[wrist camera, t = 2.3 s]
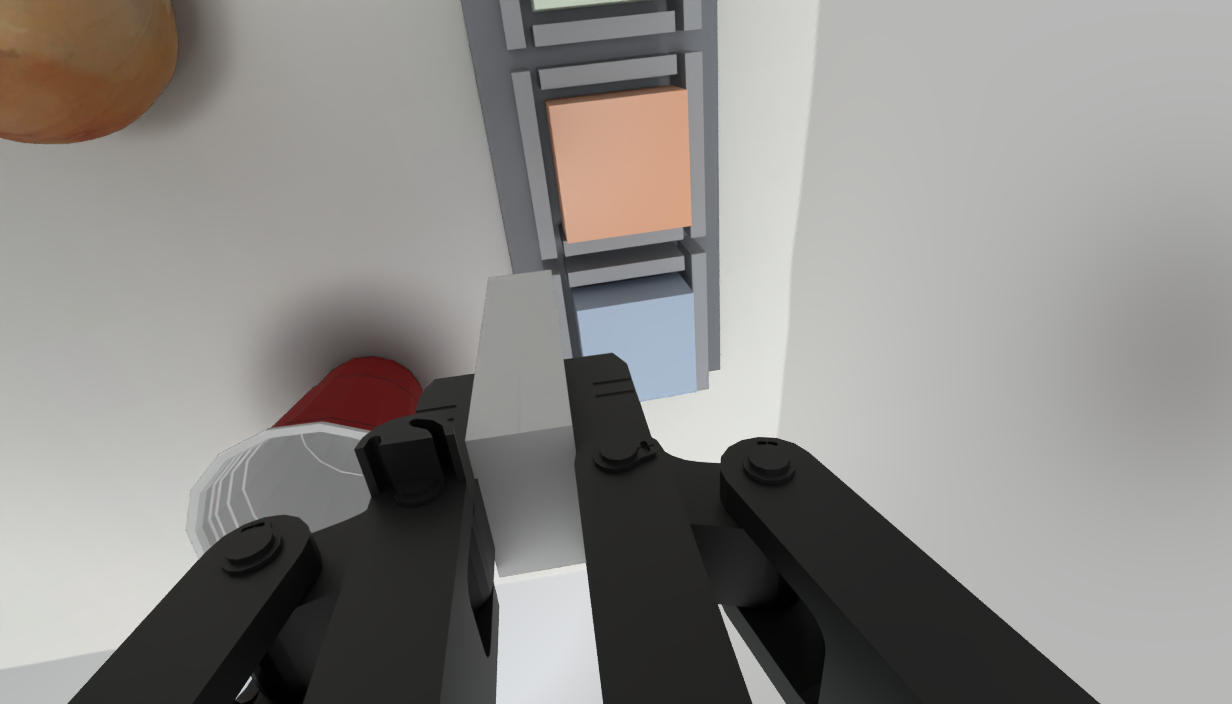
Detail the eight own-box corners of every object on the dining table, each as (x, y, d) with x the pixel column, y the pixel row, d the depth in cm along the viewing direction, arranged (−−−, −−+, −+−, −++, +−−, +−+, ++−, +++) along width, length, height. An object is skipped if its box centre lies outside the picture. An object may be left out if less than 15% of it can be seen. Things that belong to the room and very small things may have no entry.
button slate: (571, 288, 32) (577, 311, 29) (678, 272, 32) (693, 292, 30) (584, 382, 34) (590, 410, 32) (682, 365, 35) (696, 391, 32)
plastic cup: (470, 320, 35) (455, 440, 24) (462, 464, 39) (447, 617, 29) (268, 304, 32) (156, 431, 22) (286, 460, 37) (200, 625, 27)
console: (355, -563, 19) (322, -696, 16) (703, -564, 21) (743, -686, 17) (536, 392, 38) (540, 428, 34) (715, 362, 39) (735, 393, 36)
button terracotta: (544, 99, 27) (548, 106, 24) (670, 84, 28) (687, 89, 25) (562, 226, 30) (567, 243, 27) (675, 209, 30) (691, 225, 28)
